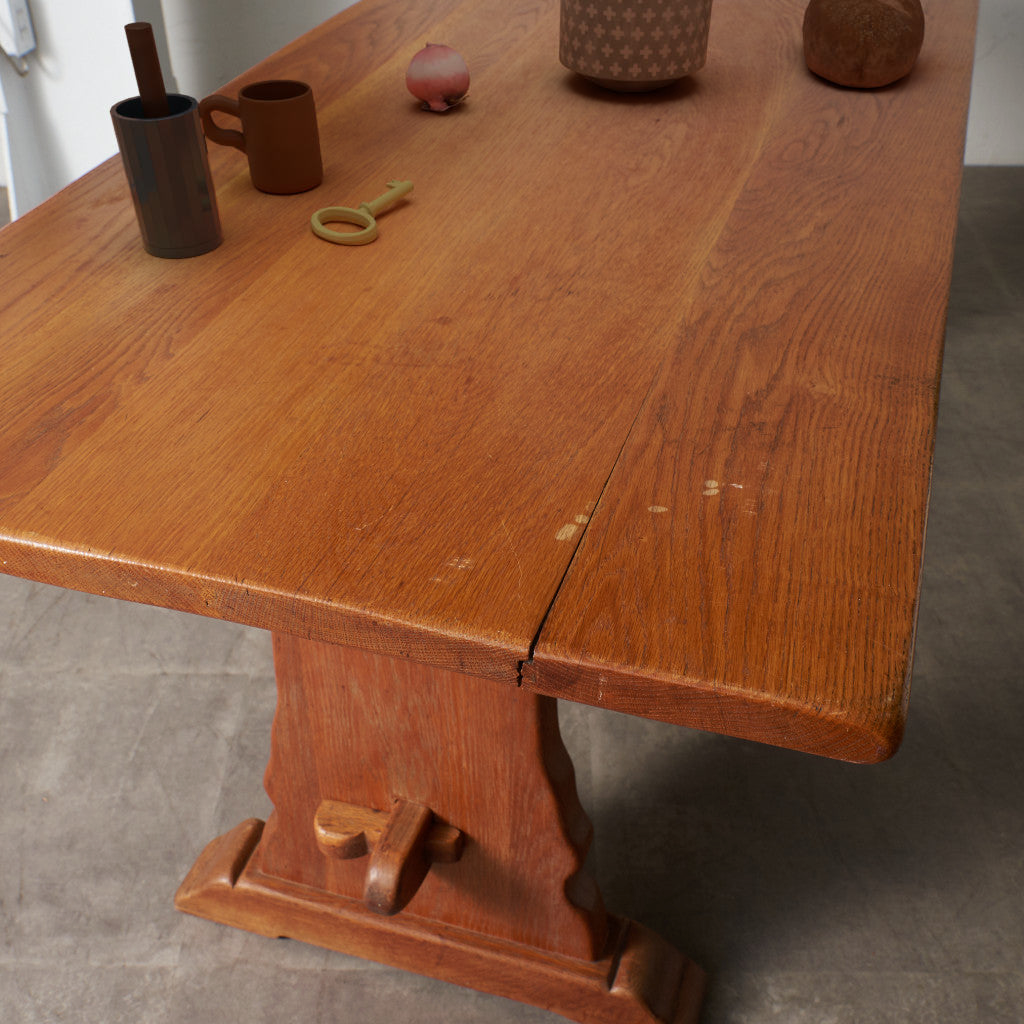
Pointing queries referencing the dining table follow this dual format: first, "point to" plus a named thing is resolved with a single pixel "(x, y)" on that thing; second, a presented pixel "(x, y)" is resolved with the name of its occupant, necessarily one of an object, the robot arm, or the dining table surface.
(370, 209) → the key
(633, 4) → the planter
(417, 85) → the onion
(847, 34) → the bread
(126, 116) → the cup
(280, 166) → the mug
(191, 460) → the dining table surface
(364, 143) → the dining table surface
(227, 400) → the dining table surface
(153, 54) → the brush
